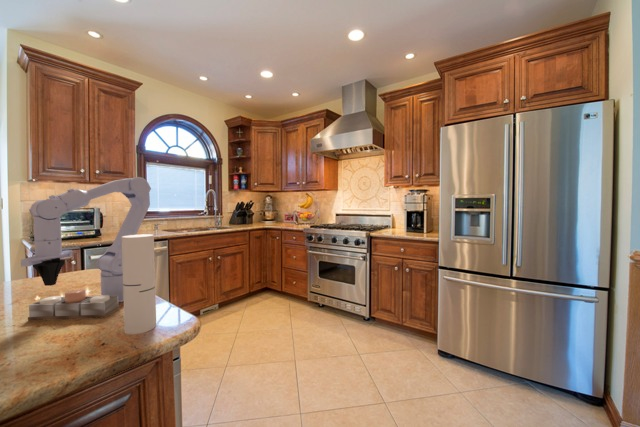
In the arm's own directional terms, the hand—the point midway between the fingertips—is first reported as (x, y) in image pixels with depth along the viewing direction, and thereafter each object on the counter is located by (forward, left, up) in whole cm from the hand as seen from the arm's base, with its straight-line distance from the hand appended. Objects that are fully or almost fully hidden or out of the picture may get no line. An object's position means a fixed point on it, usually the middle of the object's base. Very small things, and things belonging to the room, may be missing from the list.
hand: (50, 284), depth 81 cm
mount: (-7, -1, -9) cm, 12 cm away
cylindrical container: (-33, +7, -10) cm, 35 cm away
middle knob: (-7, -1, -6) cm, 9 cm away
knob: (-14, -1, -8) cm, 16 cm away
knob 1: (0, 0, -8) cm, 8 cm away
